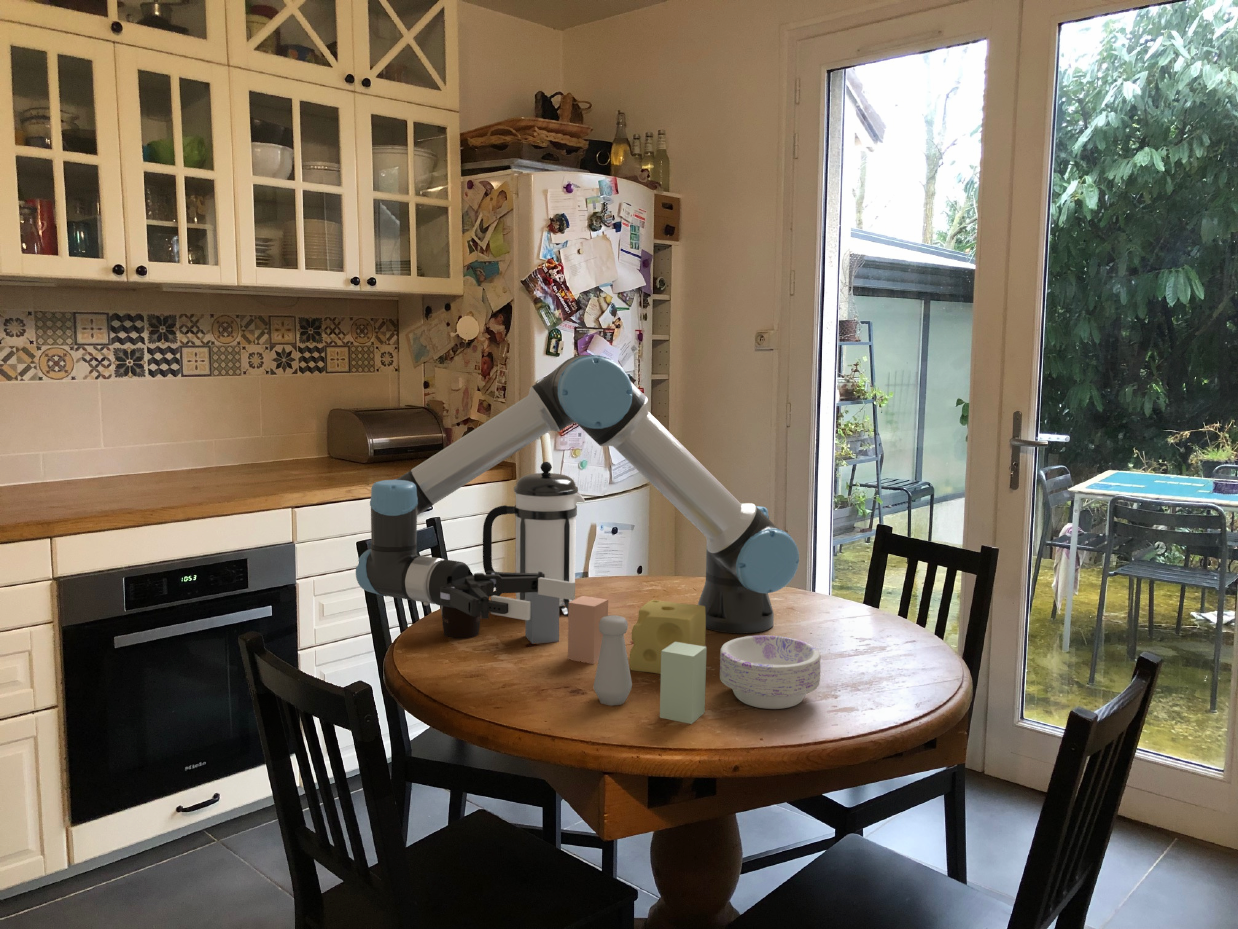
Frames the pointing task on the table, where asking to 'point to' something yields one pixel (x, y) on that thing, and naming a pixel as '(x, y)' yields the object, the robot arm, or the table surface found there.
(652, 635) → the cheese
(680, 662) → the sage block
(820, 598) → the table surface
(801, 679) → the paper bowls
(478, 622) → the coffee mug
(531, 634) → the slate block
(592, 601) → the terracotta block
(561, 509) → the coffee press
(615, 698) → the salt shaker
